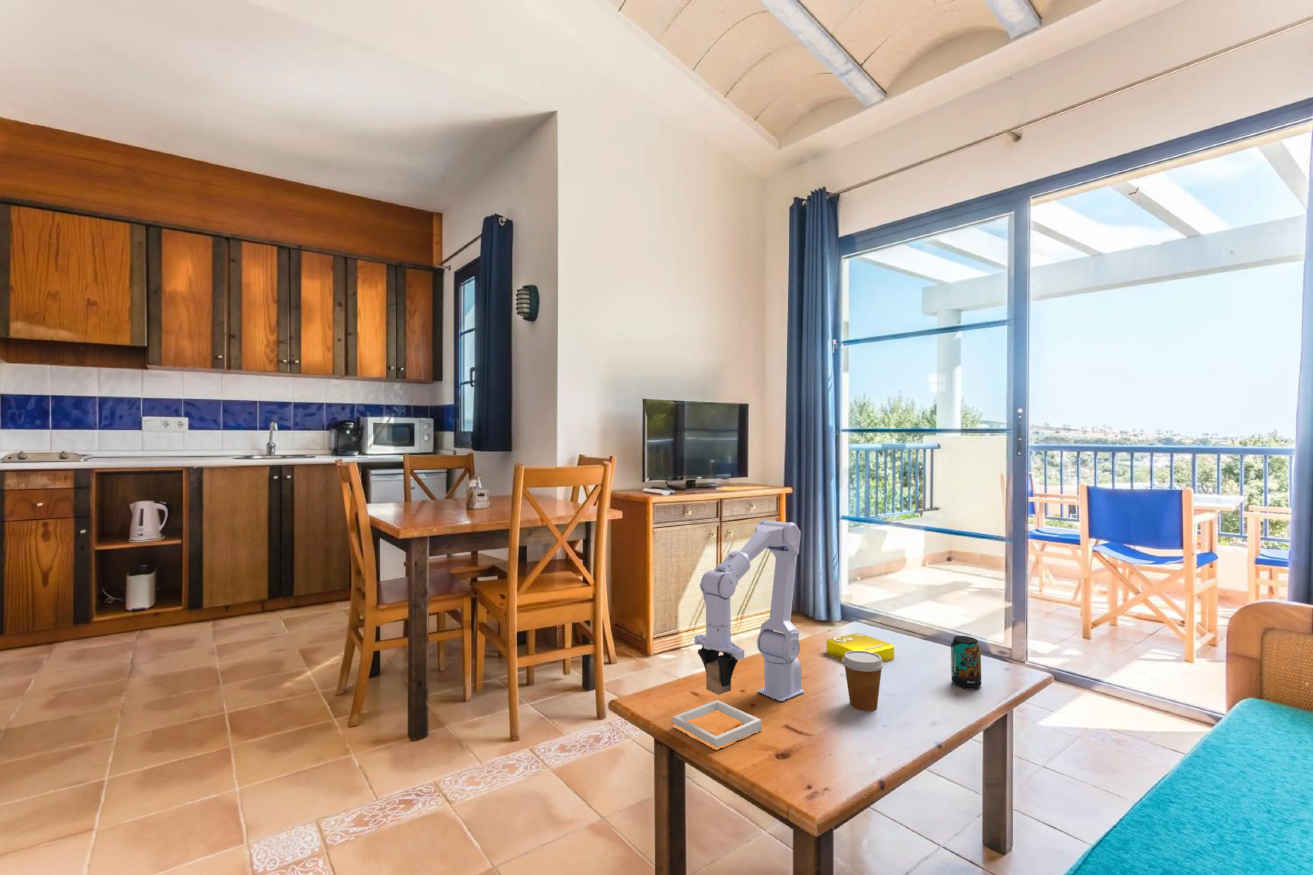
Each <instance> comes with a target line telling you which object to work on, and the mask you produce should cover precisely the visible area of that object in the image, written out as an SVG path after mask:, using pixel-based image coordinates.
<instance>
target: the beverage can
mask: <svg viewBox="0 0 1313 875" xmlns="http://www.w3.org/2000/svg"><path fill="white" fill-rule="evenodd" d="M978 641H979V640H978V639H977V638H975V637H972V636H966V635H956V636H953V640H952V642H951V643H950V661H951V662H950V663H951V664H950V671H951V682H952V683H953V684H954V685H955V686H957V687H959V688H961V689H965V690H976V689H979V688H980V687H981V686H982V650H981V649H982V648H981V646H980V644H979V643H978Z"/></svg>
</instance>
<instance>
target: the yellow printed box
mask: <svg viewBox="0 0 1313 875" xmlns="http://www.w3.org/2000/svg"><path fill="white" fill-rule="evenodd" d="M825 644H826V654H827V655H828V654H829V655H828V656H831V655H832V656H831V657H833V656H834V657H833V658H836V657H837V658H836V659H838V658H839V659H838V660H840V661H842V659H843V658H844V654H845V653H846V652H849V651H856V650H858V651H868V652H872V653H875V654H878V655H879V656H881V659H882V662H883V663H886V662H889V660H890V661H893V660H894V659H895V646H894V644H892V643H889V642H887V641H884V640H881V639H878V638H875V637H872V636H869V635H866V634H863V633H859V632H857V633H852V634H847V635H842V636H837V637H832V638H830V639H827V640H826V643H825ZM885 661H886V662H885Z"/></svg>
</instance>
